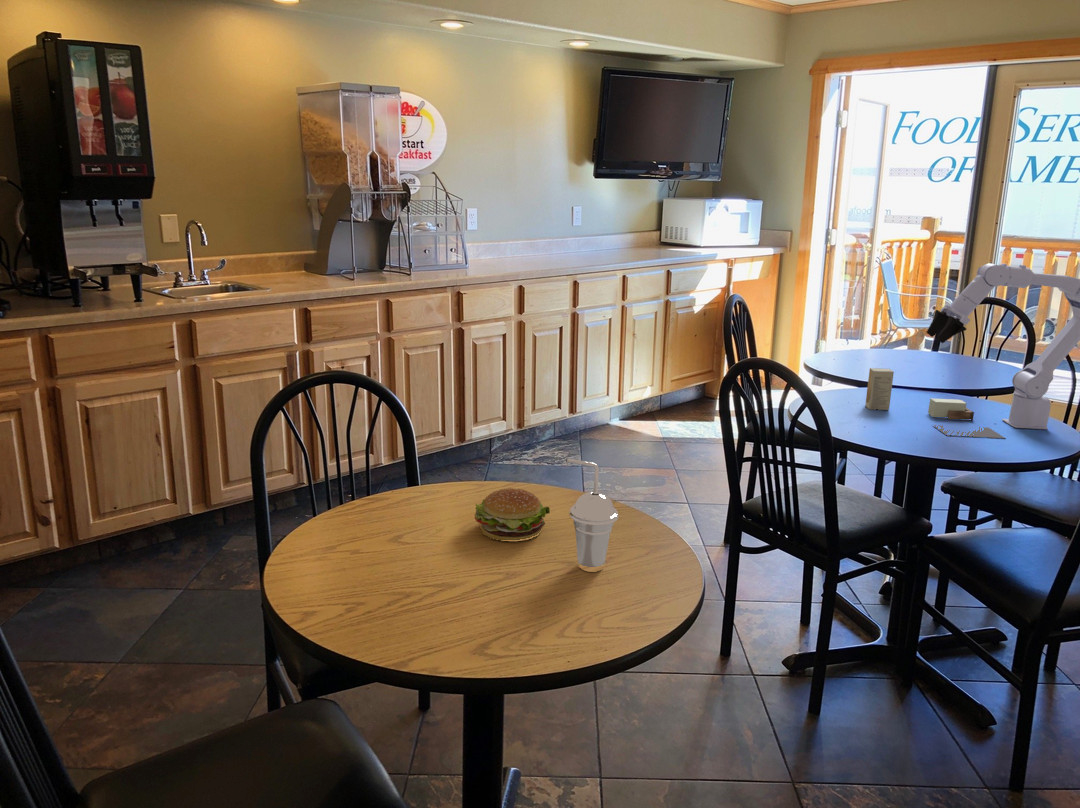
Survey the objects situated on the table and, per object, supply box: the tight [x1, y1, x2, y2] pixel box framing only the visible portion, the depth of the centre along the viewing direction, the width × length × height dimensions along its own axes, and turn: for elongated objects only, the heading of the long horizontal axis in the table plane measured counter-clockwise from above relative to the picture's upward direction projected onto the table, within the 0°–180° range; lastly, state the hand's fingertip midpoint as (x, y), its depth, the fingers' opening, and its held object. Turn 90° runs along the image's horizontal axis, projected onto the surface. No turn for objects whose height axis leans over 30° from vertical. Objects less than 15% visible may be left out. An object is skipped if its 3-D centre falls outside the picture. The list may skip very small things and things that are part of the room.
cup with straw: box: [565, 457, 619, 567], centre depth 144 cm, size 8×9×20 cm
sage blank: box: [927, 397, 968, 418], centre depth 251 cm, size 9×4×5 cm, turn 86°
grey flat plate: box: [933, 424, 1006, 440], centre depth 236 cm, size 16×10×1 cm, turn 88°
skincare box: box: [864, 367, 895, 411], centre depth 256 cm, size 6×4×12 cm
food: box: [474, 487, 551, 541], centre depth 159 cm, size 14×14×8 cm
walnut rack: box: [948, 407, 975, 421], centre depth 251 cm, size 7×7×2 cm
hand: (934, 337), depth 241 cm, fingers open, 7 cm apart
